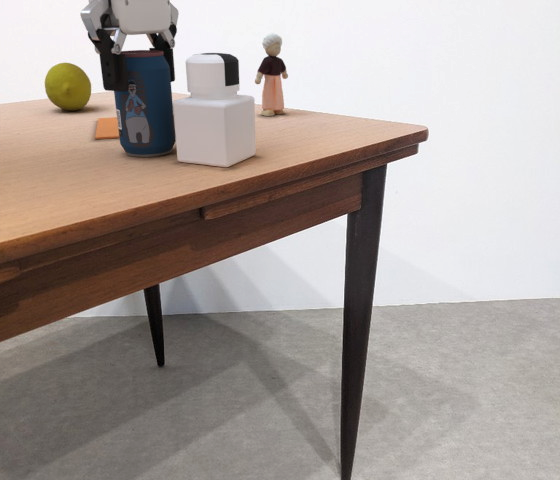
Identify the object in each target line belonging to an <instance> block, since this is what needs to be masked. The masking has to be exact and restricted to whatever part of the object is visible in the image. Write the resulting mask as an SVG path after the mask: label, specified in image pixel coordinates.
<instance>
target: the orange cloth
mask: <svg viewBox="0 0 560 480" xmlns="http://www.w3.org/2000/svg"><path fill="white" fill-rule="evenodd" d="M174 127H175V124H174ZM110 139H120V138H119V130H118V121H117V116H115V117H113V116H112V117H98V119H97V124H96V129H95V135H94V140H110Z"/></svg>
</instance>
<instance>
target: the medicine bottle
mask: <svg viewBox="0 0 560 480" xmlns="http://www.w3.org/2000/svg"><path fill="white" fill-rule="evenodd" d="M239 61H240V60H239V59H238V57H236V56H235V55H233V54H230V53H225V52H224V53H223V52H203V53H195V54H192V55H191V56H189V57H187V58H186V60H185V73H186V85H187V86H186V87H187V92H188V93H190V96H187V97H182V98H179V99H175V100H173V101H172V103H173V115H174V124H175V139H176V141H175V147H176V149H175V150H176V158H177V161H178V162H179V163H185V164H194V165H204V166H212V167H221V168H229V167H232V166H233V165H236V164H239V163H240V162H242V161H244V160H247V159H249V158H251V157H254V156H255V155H256V153H257V149H256V148H257V145H256V144H257V143H256V109H255V108H256V107H255V104H256V103H255V97H254V96H253V95H247V94H238V92H239V91H240V90H241V87H240V62H239Z"/></svg>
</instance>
